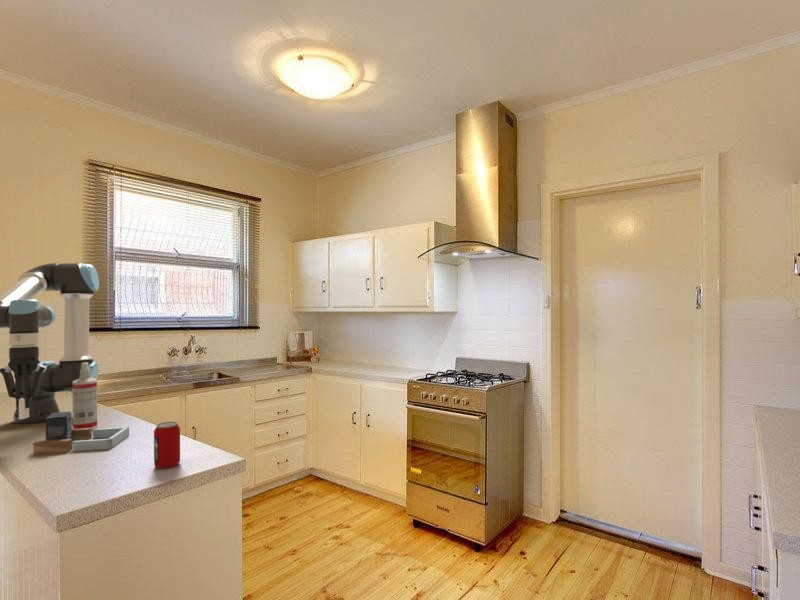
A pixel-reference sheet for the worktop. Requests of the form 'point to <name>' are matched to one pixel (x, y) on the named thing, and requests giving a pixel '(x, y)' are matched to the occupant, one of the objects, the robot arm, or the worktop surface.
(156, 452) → the beverage can
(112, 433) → the bay
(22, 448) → the worktop surface
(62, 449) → the brown bar
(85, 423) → the white bottle
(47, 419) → the box
